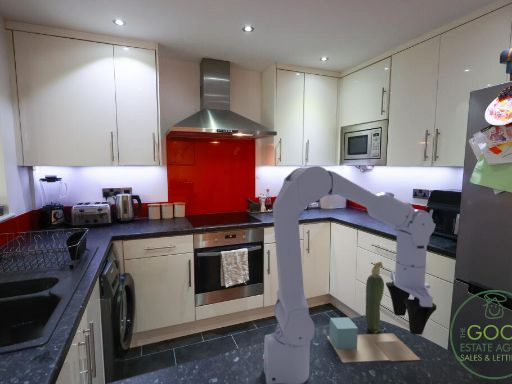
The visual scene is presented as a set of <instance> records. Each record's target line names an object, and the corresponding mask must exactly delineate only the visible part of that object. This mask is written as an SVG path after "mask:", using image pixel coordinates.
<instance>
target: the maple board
mask: <svg viewBox="0 0 512 384" xmlns="http://www.w3.org/2000/svg"><path fill="white" fill-rule="evenodd" d="M326 337H327V339H328V341H329V342H330V344H331V345H332V347H333V349H334V350H335V352H336V354H337V355H338V357H339V359H340V360H341V362H342V363H358V362H359V363H360V362H380V361H383V362H384V361H390V362H403V361H404V362H406V361H407V362H411V361H421V358H420V357H419V356H417V355H416V354H415V352H414V351H412V350H411V349H410V348H409V346H407V345H406V344H405V343H404V342H403V341H402V340H400V339H399V338H398V337H397V336H396V335H395V334H394V333H392V332H391V333H369V334H367V333H365V334H358V340H357V348H356V349H337V348H336V347H335V345H334V344H333V342H332V340H331V339H330V337H329V335H327V336H326Z"/></svg>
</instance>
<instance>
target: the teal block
mask: <svg viewBox="0 0 512 384" xmlns="http://www.w3.org/2000/svg"><path fill="white" fill-rule="evenodd" d="M358 331H359V328H358V327H357V325H356V324H355V322H354V321H352V320H351V318H350V317H345V316H344V317H330V318H329V333H328V334H329V335H328V336H329V337H330V339H331V340H332V342H333V344H334V345H335V347H336V348H337V349H356V348H357V340H358V335H359V332H358Z"/></svg>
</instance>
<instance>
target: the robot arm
mask: <svg viewBox="0 0 512 384" xmlns="http://www.w3.org/2000/svg"><path fill="white" fill-rule="evenodd" d="M334 195H335V196H336V195H338V196H339V197H342V198H344V199H346V200H348V201H350V202H353V203H355V204H357V205H360V206H362V207H364V208H366V211H367V213H368V215H369V216H370V217H371V218H373V219H375V220H378V221H380V222H382V223H384V224H386V225H387V226H389V227H392V228H393V229H394V231H395V232H396V244H395V245H396V251H395V266H394V268H395V269H394V271H390V280H391V281H387V282H385V285H386V288H387V290H388V293H389V295H390V299H391V303H392V309H393V314H394V315H395V316H399V317H400V316H401V317H402V316H403V317H404V316H406V313H407V316H408V327H409V332H410V334H411V335H421V336H422V335H423V333H424V330H425V328H426V324H427V323H428V321H429V318H430V317H431V315H432V314H433V313H434V312H435V311H436V310H437V305H436V303H434V297H433V296H431V294H430V293H429V290H428V289H431V284H429V283H428V282H426V268H427V267H426V266H427V247H428V245H429V243H430V238H431V236H432V234H433V233H434V231H435V228H436V223H434V219H433V218H432V216H431V214H430V213H429V212H427V211H425V210H422V209H416V208H414V207H413V204H412V203H410V202H403V201H402V200H400V199H398V198H396V197H395V196H396V195H395V194H394V193H392V192H388V191H386V192H383V191H382V192H378V193H375V194H374V193H373V192H371V191H369V190H367V189H366V188H364V187H362V186H360V185H359V184H357V183H355V182H353V181H351V180H349V179H347V178H346V177H344V176H342V175H341V174H339V173H337V172H335V171H332V170H327V169H326V168H324V167H322V166H319V165H313V166H308V167H299V168H295V169H293V171H291V172H290V173H289V174H288V175H287V176H286V177H285V178H284V180H283V184H282V185H281V187H280V190H279V192H278V194H277V196H276V198H275V200H274V201H273V204H272V216H273V229H274V230H273V231H274V241H275V244H274V245H275V254H276V255H275V257H276V267H277V281H278V290H277V292H276V301H275V303H274V306H273V313H274V316H275V318H276V320H277V325H276V328H275V330H274V331H275V332H272V333H268V334H265V335H264V338H263V339H264V342H263V349H264V350H263V365H262V366H263V373H264V376H265V382H266V384H305V382H306V381H308V379H309V378H310V353H311V348H310V347H311V341H312V339H313V338H314V335H315V330H316V328H315V323H314V321H313V319H312V318H311V316H310V312H309V311H310V310H309V306H308V301H307V299H306V295H305V291H304V290H305V288H304V276H303V265H302V264H303V262H302V250H301V247H302V246H301V239H300V238H301V235H300V224H299V223H300V221H299V220H300V219H299V216H300V214H302V213H303V212H304V210H306V209H307V207H308V206H310V205H312V204H313V203H316V202H318V201H320V200H321V199H323V198H324V197H326V196H334ZM410 295H411V296H412V297H413V299H412V298H411V299H410Z"/></svg>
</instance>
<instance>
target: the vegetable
mask: <svg viewBox="0 0 512 384" xmlns="http://www.w3.org/2000/svg"><path fill="white" fill-rule="evenodd" d="M383 265H384V264H383V262H382V261H379V262H376V263H375V264H374V266H373V267H372V269H371V274H370V275H369V276H368V277H367V279H366V283H365V285H366V286H365V323H366V327H367V328H368V330H369V331H370V332H373V334H377V333H378V332H380V328H381V312H380V311H381V303H382V298H383V296H384V290H385V283H384V279H383V278H382V276H381V275H380V274H381V273H380V268H383V267H384V266H383Z"/></svg>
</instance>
